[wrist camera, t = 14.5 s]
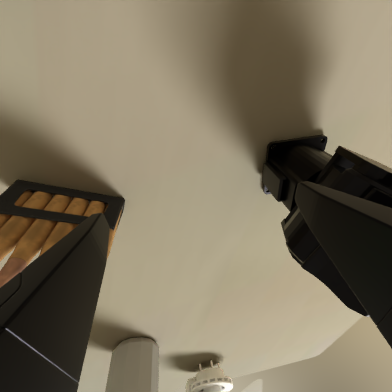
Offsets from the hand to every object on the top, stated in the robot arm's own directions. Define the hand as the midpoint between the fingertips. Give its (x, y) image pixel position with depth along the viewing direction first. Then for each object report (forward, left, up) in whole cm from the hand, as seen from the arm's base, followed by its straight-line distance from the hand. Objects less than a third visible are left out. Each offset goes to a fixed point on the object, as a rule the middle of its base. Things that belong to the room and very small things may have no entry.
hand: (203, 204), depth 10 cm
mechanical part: (+2, +64, -13) cm, 65 cm away
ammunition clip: (+13, +6, -13) cm, 20 cm away
